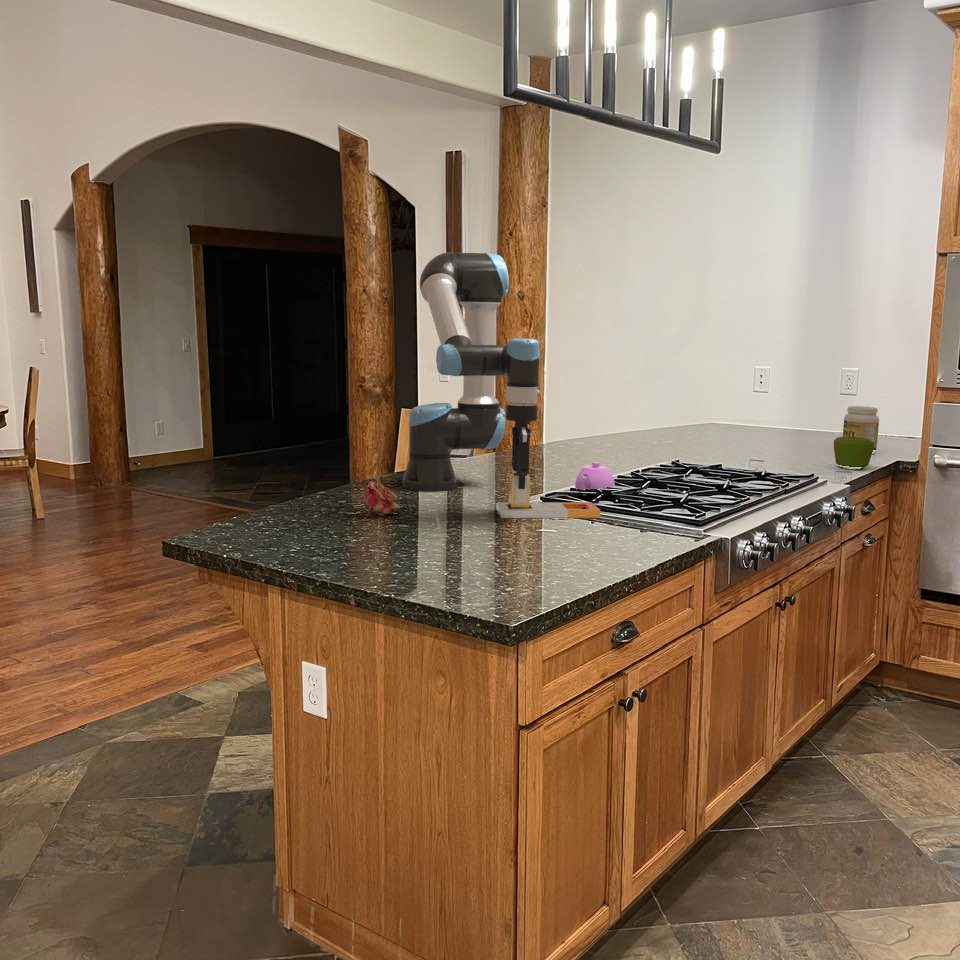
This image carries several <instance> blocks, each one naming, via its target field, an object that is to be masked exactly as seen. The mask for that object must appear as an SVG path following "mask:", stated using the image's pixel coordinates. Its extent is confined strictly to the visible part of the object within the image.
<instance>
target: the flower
mask: <svg viewBox="0 0 960 960" xmlns="http://www.w3.org/2000/svg"><path fill="white" fill-rule="evenodd" d="M367 484H368V485H367V486H366V488H364V489H363V491H364V499H365V500H364V502H366V504H367V505H368V507H369V510H368V511H367V514H368V515H372V513H374V511H375V512H376V514H378V516H381V517H382V516H383V517H386V518H387V516H385V515H386V514H392V515H393V513H394V511H395V509H401V508H402V505H399V504H398V503H396V502H397V498H398V495H397V494H396V493H394V492H393V491H392V489H391V490H390V489H389V488H388V487H387V486H386V487H385V486H384V485H383V484H382V483H381V482H379V481H378V482H376V483H375V482H373V481H372V480H370V481H369V482H368V483H367Z"/></svg>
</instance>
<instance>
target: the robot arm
mask: <svg viewBox="0 0 960 960" xmlns="http://www.w3.org/2000/svg"><path fill="white" fill-rule="evenodd" d="M509 278H510V277H509V271H508V266H507V264H506V262H505V260H504V258H503V257H502V256H501V255H500V254H495V253H487V252H484V253H483V252H479V253H478V252H454V251H452V252H451V251H450V252H449V251H448V252H442V253H440V254H437V255H436V256H435V257H433V258H432V259H430V260H429V261H428V263H427V264H426V265H425V267H424V268H423V270H422V271H421V274H420V279H419V289H420V292H421V297H422V298H423V299H424V301H425V302H427V303H428V306H429V311H430V313H431V316H432V319H433V322H434V326H435V330H436V332H437V333H436V334H437V337H438V339H439V343H440V344H439V345H438V347H437V350H436V353H435V354H436V357H435V362H436V369H437V371H438V374H440V375H441V376H452V377H460V376H461V377H463V380H462V381H463V387H462V389H463V393H462V396H461V397H460V398H459V399H458V400H457V407H453V406H452V404H451V403H450V402H434V403H427V404H422V405H418V406H415V407H413V408H412V409H411V410H410V411H409V420H408V427H409V428H408V462H407V465H406V468H405V471H404V474H403V477H402V487H403V488H404V489H406V490H410V491H411V490H412V491H419V492H443V491H450V490H453V489H454V490H455V489H456V488H457V476H456V474H455V470H454V468H453V464H452V461H451V451H453V450H488V449H490V450H491V449H494V448H495V449H496V448H497V447H498V446H499V445H500V444H501V442H502V440H503V438H504V435H505V429H506V420H507V421H510V422H514V426H512V429H511V433H512V444H511V447H512V448H511V451H512V452H511V453H512V454H511V467H512V468H511V469H512V475H514V476H516V478H515V502H526V498H527V475H529V474H530V470H529V469H530V467H529V466H530V444H531V443H530V442H531V436H532V435H531V428H529V425H528V424H529V422H535V421H537V420H538V406H537V405H536V404H537V403H538V397H539V396H538V395H540V394H541V390H539V376H540V375H539V374H540V372H539V371H540V368H539V367H540V357H541V353H540V342H539V341H538V340H537V339H535V338H511V339H509V340H508V342H507V343H506V344H500V345H499V344H496V311H497V309H498V307H500V306H501V305H502V299H503V298H505V297H507V295H508V293H509V285H510V280H509ZM458 297H459V298H458ZM458 299H459V301H458ZM460 305H461V306H462V308H463V309H464V315H463V312H462V310H461V307H460ZM496 376H498V377H504V376H505V377H506V388H505V389H506V391H505V396H506V397H505V401H506V403H508V404H507V405H506V406H505V410H504V409H503V408H502V407H500V402H499V400H498V399H497V398H496V397H495V395H494V393H495V377H496Z"/></svg>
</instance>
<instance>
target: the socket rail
mask: <svg viewBox="0 0 960 960" xmlns="http://www.w3.org/2000/svg"><path fill="white" fill-rule="evenodd" d="M584 507H585V508H586V509H581V508H584ZM495 510H496V512H497V514H498V516H500V519H601V509H600V508H598V507H597V506H596V505H595V503H593V502H590V501H589V502H587V501H586V502H583V501H582V502H580V501H579V502H575V501H574V502H566V501H565V502H562V501H561V502H554V501H553V502H551V501H550V502H549V501H548V502H547V501H546V502H541V501H539V502H537V501H535V502H532V501H530V506H529V509H510V508H509V501H508V502H505V501H504V502H500V501H499V502H496V509H495Z"/></svg>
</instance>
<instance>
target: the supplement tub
mask: <svg viewBox="0 0 960 960" xmlns="http://www.w3.org/2000/svg"><path fill="white" fill-rule="evenodd" d="M846 412H847V413H846V414H845V415H844V417H843V418H844V419H843V427H842V428H843V429H842V437H853V435H854V437H860V438H866V439H870V440H871V441H872V442H873V443H874V449H873V450H876V451H877V450H878V449H877V447H878V438H879V425H880V417H879V416H878V415H877V414H878V413H879V411H878V408H877V407H871V406H859V405H857V406H856V405H855V406H854V405H851V406H847V411H846Z"/></svg>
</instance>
